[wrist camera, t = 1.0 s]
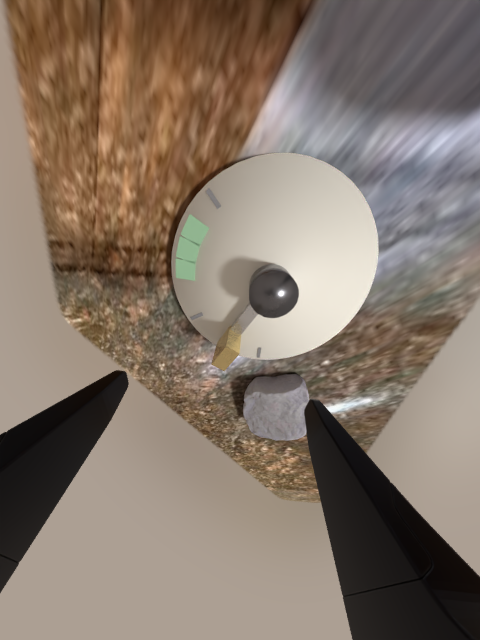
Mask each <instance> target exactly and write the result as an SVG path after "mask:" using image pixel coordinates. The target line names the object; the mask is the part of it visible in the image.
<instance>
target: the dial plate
mask: <svg viewBox="0 0 480 640" xmlns="http://www.w3.org/2000/svg"><path fill="white" fill-rule="evenodd" d="M377 261H378V235H377V230H376V225H375V221H374V218H373V215H372V212H371V209H370V207H369V205H368V203H367V202H366V200H365V198H364V196H363V194H362V193H361V192H360V191H359V189H358V188H357V187H356V186H355V184H354V183H353V182H352V181H351V180H350V179H349V178H348V177H346V176H345V175H344V174H343V173H342V172H341V171H339V170H338V169H336V168H334V167H333V166H331V165H329V164H328V163H326V162H324V161H321V160H318V159H316V158H313V157H310V156H306V155H300V154H294V153H270V154H265V155H259V156H254V157H252V158H249V159H246V160H243V161H240V162H238V163H236V164H234V165H232V166H231V167H229V168H227V169H225V170H223V171H222V172H221V173H219V174H218V175H217V176H215V177H214V178H213V179H211V180H210V181H209V182H208V183H207V184H206V185H205V186H204V187H203V188H202V189H201V190H200V191H199V192H198V193H197V195H196V196H195V197H194V199H193V200H192V202H191V203H190V204H189V206H188V207H187V209H186V211H185V213H184V215H183V217H182V219H181V221H180V223H179V226H178V229H177V232H176V235H175V239H174V244H173V248H172V260H171V268H172V279H173V284H174V289H175V292H176V296H177V299H178V301H179V303H180V306H181V308H182V310H183V312H184V313H185V315H186V316H187V318H188V320H189V321H190V322H191V324H192V325H193V326H194V327H195V329H196V330H197V331H198V332H199V333H200V334H201V335H202V336H204V337H205V338H206V339H207V340H209V341H210V342H211V343H213V344H215V345H216V346H217V342H218V341H219V339H220V338H221V337H222V336H223V334H224V333H225V332H226V330H227V329H228V328H229V326H231V325H232V324H233V323H234V321H235V320H236V319H237V317H238V316H239V315H240V314H241V312H242V311H243V310H244V308H245V307H246V306H247V305H248V303H249V302H250V301H249V282H250V279H251V276H252V275H253V273H254V272H255V271H256V270H257V269H258V268H260V267H262V266H264V265H268V264H276V265H280V266H282V267H283V268H285V269H286V270H287V271H288V272H289V274H290V275H291V276H292V278H293V279H294V280H295V282H296V283H297V286H298V289H299V297H298V301H297V303H296V305H295V307H294V308H293V309H292V310H291V311H290V312H289V313H287V314H286V315H284V316H281V317H278V318H266V317H263V316H261V315H259V314H258V315H257V316H256V317H255V319H254V320H253V321H252V322H251V323H250V325H249V326H248V327H247V328H246V329H245V330H244V332H243V333H242V334H241V343H240V354H239V355H238V356H242V357H246V358H252V359H264V360H271V359H282V358H288V357H292V356H296V355H300V354H302V353H305V352H308V351H310V350H312V349H314V348H316V347H318V346H320V345H322V344H323V343H325V342H327V341H328V340H330V339H331V338H332V337H334V336H335V335H336V334H338V333H339V332H340V331H341V330H342V329H343V328H344V327H345V326H346V325H347V324H348V323H349V322H350V321H351V320H352V318H353V317H354V316H355V315H356V313H357V312H358V310H359V309H360V307H361V306H362V305H363V303H364V301H365V299H366V297H367V295H368V293H369V291H370V288H371V285H372V283H373V280H374V276H375V272H376V268H377Z"/></svg>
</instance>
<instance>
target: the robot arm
mask: <svg viewBox="0 0 480 640" xmlns="http://www.w3.org/2000/svg"><path fill="white" fill-rule="evenodd" d="M127 388H128V378H127V374H126V372H125V371H119V370H116V371H114V372H112V373H110V374H108V375H107V376H105V377H103V378H101V379H99V380H98V381H96V382H94V383H92V384H91V385H89V386H87V387H85V388H83V389H81V390H80V391H78V392H76V393H75V394H73V395H71V396H69V397H67V398H66V399H63V400H62V401H60V402H58V403H56V404H55V405H53V406H51V407H49V408H47V409H46V410H44V411H42V412H40V413H38V414H37V415H35V416H33V417H31V418H30V419H28V420H26V421H24V422H22V423H21V424H19V425H17V426H15V427H14V428H11V429H10V430H8V431H7V432H4V433H2V434H1V435H0V593H1V591H2V589H3V588H4V586H5V585H6V583H7V582H8V580H9V579H10V577H11V575H12V574H13V572H14V571H15V569H16V567H17V566H18V564H19V562H20V561H21V560H22V558H23V556H24V555H25V553H26V552H27V550H28V548H29V547H30V545H31V544H32V542H33V541H34V539H35V538H36V536H37V535H38V533H39V531H40V530H41V528H42V527H43V525H44V524H45V522H46V520H47V519H48V517H49V516H50V514H51V513H52V511H53V510H54V508H55V507H56V505H57V503H58V502H59V500H60V499H61V497H62V496H63V494H64V493H65V491H66V489H67V488H68V486H69V485H70V483H71V482H72V480H73V478H74V477H75V475H76V474H77V472H78V471H79V469H80V467H81V466H82V464H83V463H84V461H85V460H86V458H87V457H88V455H89V454H90V452H91V450H92V449H93V447H94V446H95V444H96V443H97V441H98V439H99V438H100V436H101V435H102V433H103V432H104V430H105V428H106V427H107V425H108V424H109V422H110V421H111V419H112V417H113V415H114V413H115V411H116V409H117V407H118V405H119V403H120V402H121V399H122V398H123V396H124V394H125V392H126V390H127ZM304 416H305V424H306V432H307V439H308V446H309V451H310V456H311V460H312V464H313V469H314V473H315V478H316V482H317V486H318V491H319V495H320V499H321V504H322V508H323V512H324V516H325V521H326V525H327V530H328V534H329V538H330V542H331V547H332V551H333V556H334V560H335V565H336V569H337V573H338V577H339V582H340V586H341V591H342V595H343V599H344V604H345V608H346V613H347V618H348V622H349V626H350V631H351V635H352V639H353V640H480V576H479V575H477V573H476V572H474V570H473V569H472V568H471V567H470V566H469V565H468V564H467V563H466V562H465V561H464V560H463V559H462V558H461V557H460V556H459V555H458V554H457V553H456V552H455V551H454V550H453V548H452V547H450V545H449V544H448V543H447V542H446V541H445V540H444V539H443V538H442V537H441V536H440V535H439V534H438V533H437V532H436V531H435V530H434V529H433V528H432V527H431V526H430V525H429V523H428V522H427V521H426V520H425V519H424V518H423V517H422V516H421V515H420V514H419V513H418V512H417V511H416V510H415V508H413V506H412V505H411V504H410V503H409V502H408V501H407V500H406V498H405V497H404V496H403V495H402V494H401V493H400V492H399V491H398V489H397V488H396V487H395V486H394V485H393V484H392V483H390V481H389V479H388V478H387V477H386V476H385V475H384V474H383V472H382V471H381V470H380V469H379V468H378V467H377V466H376V465H375V463H374V462H373V461H372V460H371V459H370V458H369V457H368V455H367V454H366V453H365V452H364V451H363V450H362V448H361V447H360V446H359V445H358V444H357V443H356V442H355V440H354V439H353V438H352V437H351V436H350V435H349V434H348V432H347V431H346V430H345V429H344V428H343V427H342V426H341V424H340V423H339V422H338V421H337V420H336V419H335V418H334V416H333V415H332V414H331V413H330V412H329V411H328V410H327V408H326V407H325V406H324V405H323V404H322V403H321V402H320V401H319V400H316V399H310V400H309V402H308V403H307V405H306V407H305V409H304Z"/></svg>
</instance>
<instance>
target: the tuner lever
mask: <svg viewBox="0 0 480 640" xmlns="http://www.w3.org/2000/svg"><path fill="white" fill-rule="evenodd" d="M298 297H299V289H298V286H297V283H296V282H295V280H294V279H293V278H292V276H291V275H290V274H289V272H288V271H287V270H286V269H285V268H283V267H282V266H280V265H276V264H268V265H264V266H262V267H260V268H258V269H257V270H256V271H255V272H254V273H253V275H252V276H251V279H250V282H249V301H250V302H249V303H248V305H247V306H246V307H245V308H244V310H243V311H242V312H241V314H240V315H239V316H238V317H237V319H236V320H235V321H234V323H233V324H232V325H231V326H229V328H228V329H227V330H226V332H225V333H224V334H223V336H222V337H221V338H220V339H219V341H218V342H217V346H216V349H215V353H214V357H213V360H212V365H214V366H215V367H217V368H219V369H221V370H223V371H225V370H226V368H227V367H228V366H229V365H230V364H231V363H232V362H233V361H234V360H235V358H236V357H237V356H238V355H239V354H240V343H241V334H242V333H243V332H244V330H245V329H246V328H247V327H248V326H249V325H250V323H251V322H252V321H253V320H254V319H255V317H256V316H257V315H258V314H259V315H261V316H263V317H266V318H278V317H281V316H284V315H286V314H287V313H289V312H290V311H291V310H292V309H293V308H294V307H295V305H296V303H297V301H298Z"/></svg>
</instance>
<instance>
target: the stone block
mask: <svg viewBox="0 0 480 640" xmlns="http://www.w3.org/2000/svg"><path fill="white" fill-rule="evenodd" d="M308 402H309V395H308V390H307V387H306V383H305V380H304V379H303V378H302V377H301V376H299V375H298V374H288V375H287V374H285V375H280V376H277V377H266V376H263V377H256V378H254V380H253V381H252V382H251V383H250V384H249V385H248V387H247V389H246V391H245V395H244V404H243V415H244V417H245V419H246V421H247V424H248V426H249V428H250V430H251V432H252V433H254V434H255V435H257V436H259V437H265V438H270V439H273V440H286V441H287V440H293V439H299V438H301V437H304V435H306V424H305V416H304V409H305V407H306V405H307V403H308Z"/></svg>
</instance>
